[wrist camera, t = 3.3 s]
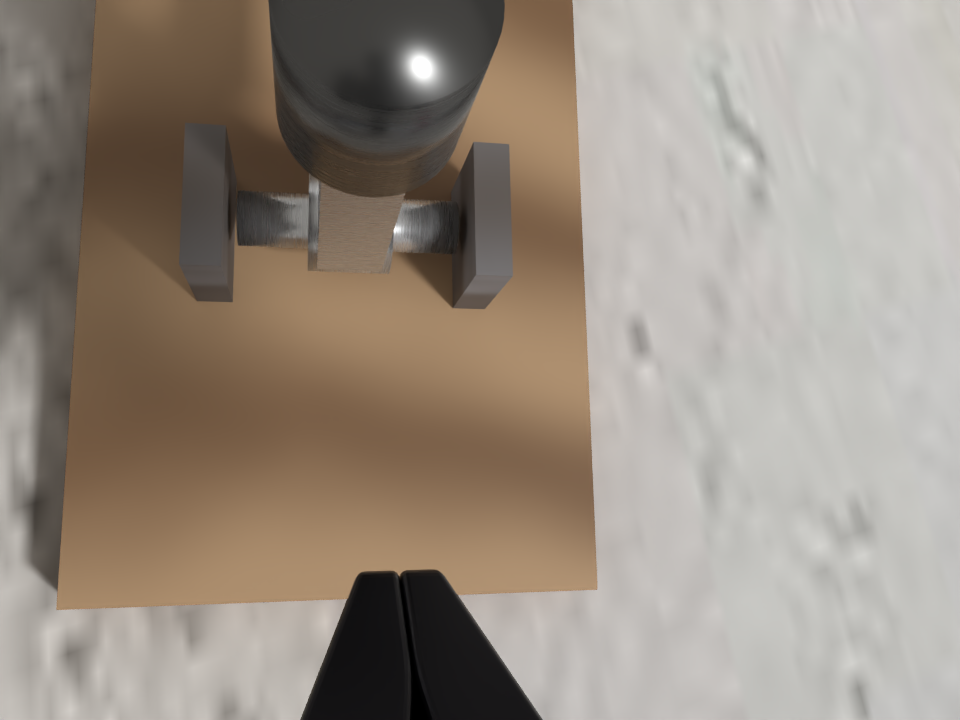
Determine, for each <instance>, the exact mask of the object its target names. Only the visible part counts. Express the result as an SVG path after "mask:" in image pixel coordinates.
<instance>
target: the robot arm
mask: <svg viewBox="0 0 960 720" xmlns="http://www.w3.org/2000/svg"><path fill="white" fill-rule="evenodd" d="M300 720H542V718H541V717H540V715H539V714H538V712H537V711H536V709H535V708H534V706H533V705H532V703H531V702H530V700H529V699H528V698H527V696H526V695H525V693H524V692H523V690H522V689H521V687H520V686H519V684H518V683H517V681H516V680H515V678H514V677H513V676H512V674H511V673H510V671H509V670H508V668H507V667H506V665H505V664H504V662H503V661H502V659H501V658H500V656H499V655H498V654H497V652H496V651H495V649H494V648H493V646H492V645H491V643H490V642H489V640H488V639H487V637H486V636H485V634H484V633H483V632H482V630H481V629H480V627H479V626H478V624H477V623H476V621H475V620H474V618H473V617H472V615H471V614H470V612H469V611H468V610H467V608H466V607H465V605H464V604H463V602H462V601H461V599H460V598H459V596H458V595H457V593H456V592H455V590H454V589H453V588H452V586H451V585H450V583H449V582H448V580H447V579H446V577H445V576H444V575H443V574H442V573H441V572H440V571H438V570H435V569H425V570H406V571H403V572H402V573H401V574H400V576H399V575H398V574H397V572H395V571H364V572H361V573H359V574H358V575H357V577H356V579H355V581H354V583H353V586H352V589H351V591H350V594H349V596H348V599H347V601H346V604H345V607H344V609H343V612H342V614H341V617H340V619H339V622H338V625H337V627H336V630H335V632H334V635H333V637H332V640H331V643H330V645H329V648H328V650H327V653H326V655H325V658H324V660H323V663H322V666H321V668H320V671H319V673H318V676H317V678H316V681H315V684H314V686H313V689H312V691H311V694H310V696H309V699H308V702H307V704H306V707H305V709H304V712H303V714H302V717H301V719H300Z"/></svg>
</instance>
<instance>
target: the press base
mask: <svg viewBox="0 0 960 720" xmlns="http://www.w3.org/2000/svg"><path fill="white" fill-rule="evenodd" d="M504 2H505V12H504V22H503V28H502V32H501V35H500V38H499V41H498V44H497V47H496V49H495V52H494V54H493V56H492V59H491V61H490V64H489V66H488V69H487V71H486V74H485V76H484V79H483V81H482V84H481V86H480V89H479V91H478V94H477V96H476V98H475V101H474V103H473V106H472V108H471V111H470V113H469V116H468V118H467V121H466V123H465V126H464V128H463V131H462V133H461V135H460V138H459V140H458V143H457V145H456V148H455V150H454V152H453V154H452V156H451V158H450V159H449V161H448V162H447V163H446V165H445V166H444V167H443V168H442V169H441V171H440V172H439V173H438V174H437V175H436V176H434V177H433V178H432V179H431V180H429V181H428V182H427V183H425V184H423V185H421V186H420V187H418V188H416V189H414V190H411V191H409V192H406V193H405V196H404V199H415V200H435V201H454V202H457V204H458V208H459V237H458V245H457V249H456V252H455V254H432V253H407V252H392V261H391V268H390V272H389V274H378V273H349V272H320V271H308V249H307V248H282V247H257V246H238V243H237V228H236V211H237V194H238V190H242V191H262V192H281V193H300V194H309V173H308V172H307V171H306V170H305V169H304V168H303V167H302V166H301V165H300V164H299V163H298V162H297V160H296V159H295V158H294V157H293V155H292V154H291V152H290V151H289V149H288V148H287V146H286V144H285V142H284V140H283V138H282V135H281V132H280V129H279V126H278V121H277V116H276V104H275V90H274V75H273V61H272V46H271V32H270V17H269V3H268V0H96V8H95V23H94V38H93V54H92V69H91V85H90V100H89V115H88V131H87V146H86V162H85V177H84V192H83V208H82V223H81V239H80V254H79V269H78V285H77V300H76V316H75V331H74V346H73V362H72V377H71V393H70V408H69V423H68V439H67V454H66V470H65V485H64V500H63V516H62V531H61V547H60V562H59V577H58V593H57V608H56V610H67V609H93V608H120V607H147V606H173V605H200V604H226V603H253V602H279V601H306V600H333V599H348V596H349V594H350V591H351V589H352V586H353V583H354V581H355V579H356V577H357V575H358V574H359V573H361V572H364V571H395V572H397V574H398V575H399V576H400V574H401V573H402V572H403V571H406V570H425V569H435V570H438V571H440V572H441V573H442V574H443V575H444V576H445V577H446V579H447V580H448V582H449V583H450V585H451V586H452V588H453V589H454V590H455V592H456V593H457V595H465V594H492V593H519V592H545V591H572V590H597V567H596V543H595V520H594V497H593V473H592V450H591V426H590V403H589V380H588V356H587V333H586V309H585V286H584V263H583V239H582V216H581V192H580V169H579V146H578V122H577V99H576V75H575V52H574V28H573V5H572V0H504Z"/></svg>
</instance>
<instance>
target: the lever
mask: <svg viewBox="0 0 960 720" xmlns="http://www.w3.org/2000/svg"><path fill="white" fill-rule="evenodd" d="M268 3H269V17H270V32H271V46H272V61H273V75H274V90H275V104H276V116H277V121H278V126H279V129H280V132H281V135H282V138H283V140H284V142H285V144H286V146H287V148H288V149H289V151H290V152H291V154H292V155H293V157H294V158H295V159H296V160H297V162H298V163H299V164H300V165H301V166H302V167H303V168H304V169H305V170H306V171H307V172H308V173H309V194H300V193H281V192H262V191H242V190H238V194H237V211H236V228H237V243H238V246H257V247H282V248H307V249H308V271H320V272H349V273H378V274H389V272H390V268H391V261H392V252H407V253H432V254H455V252H456V249H457V245H458V237H459V208H458V204H457V202H454V201H435V200H415V199H404V196H405V193H406V192H409V191H411V190H414V189H416V188H418V187H420V186H421V185H423V184H425V183H427V182H428V181H429V180H431V179H432V178H433V177H434V176H436V175H437V174H438V173H439V172H440V171H441V169H442V168H443V167H444V166H445V165H446V163H447V162H448V161H449V159H450V158H451V156H452V154H453V152H454V150H455V148H456V145H457V143H458V140H459V138H460V135H461V133H462V131H463V128H464V126H465V123H466V121H467V118H468V116H469V113H470V111H471V108H472V106H473V103H474V101H475V98H476V96H477V94H478V91H479V89H480V86H481V84H482V81H483V79H484V76H485V74H486V71H487V69H488V66H489V64H490V61H491V59H492V56H493V54H494V52H495V49H496V47H497V44H498V41H499V38H500V35H501V32H502V28H503V22H504V12H505V2H504V0H268Z"/></svg>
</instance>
